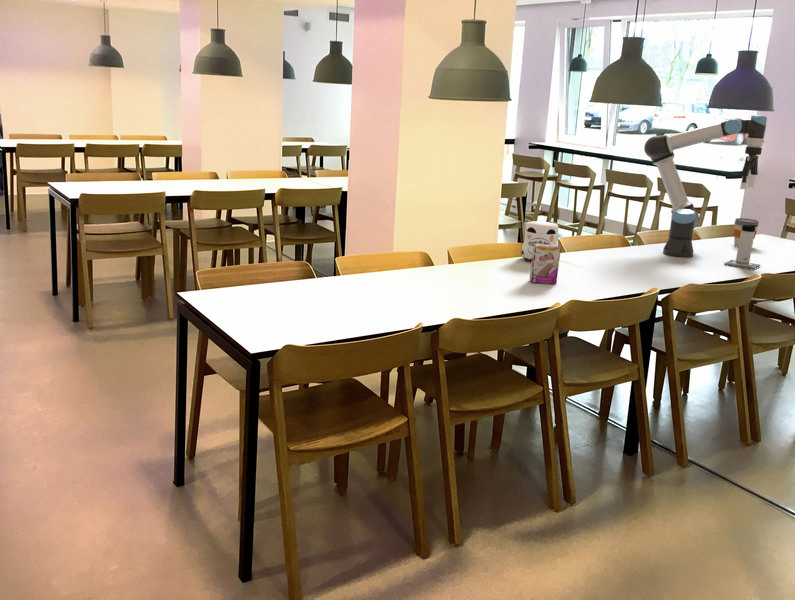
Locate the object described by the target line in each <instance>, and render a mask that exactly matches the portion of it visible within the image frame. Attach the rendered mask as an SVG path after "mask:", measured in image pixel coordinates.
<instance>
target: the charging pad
mask: <svg viewBox="0 0 795 600" xmlns="http://www.w3.org/2000/svg"><path fill="white" fill-rule="evenodd" d="M723 265H724V266H727V265H728V266H729V267H733V266H734V268H738V267H740V268H739V269H744V268H747V269H746V270H750V269H755V268H757V267H758V268H760V267H761V264H757V263H752V262H749V264H748V265H742V264H738V263H736V259H735V260H734V259H731V260H728V261H725V262H724V264H723ZM759 266H760V267H759ZM758 268H757V269H758ZM755 270H756V269H755Z"/></svg>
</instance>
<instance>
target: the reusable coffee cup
mask: <svg viewBox="0 0 795 600" xmlns="http://www.w3.org/2000/svg"><path fill="white" fill-rule="evenodd" d="M743 225H757V227H755V234H754V239H755V238H756V234H757V233H758V232H757V230H758V227H759V220H757V219H753V218H751V219H750V218H741V217H739V218H738V217H737V218H735V221H734V227H733V239H734V242H733V245H734V246H735V245H736V246H735V247H738V246H739V240H740V235H741V230H742V226H743Z"/></svg>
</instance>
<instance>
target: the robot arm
mask: <svg viewBox="0 0 795 600" xmlns="http://www.w3.org/2000/svg"><path fill="white" fill-rule="evenodd" d="M767 122H768V117H767V116H765V115H755V114H753V115H751V117H750V118H737V117H726V118H725V119H724V120H723V121H720V122H716V123H713V124H709V125H705V126H701V127H698V128H694V129H690V130H687V131H683V132H679V133H675V134H672V135H669V134H665V135H660V134H659V135H656V136H651V137H649V138H647V140H646V142H645V144H644V146H643V147H644V153H645V155H646V156H647V157H648V158H650V159H651V161H652V165H655V166H656V167H657V170H658V172H659V174H660V178H661V180H662V183H663V185H664V188H665V191H666V194H667V196H668V199H669V201H670V204H671V207H672V208H671V211H670V212H671V220H670V227H669V233H668V239H667V241H666V243H665V245H664V247H663V251H662V253H663V254H665V255H667V254H668V255H669V256H672V255H673V256H672V257H679V258H690V257H691V258H692V257H693V256H694V248H693V247H694V246H693V236H694V235H693V234H694V230H695V229H696V228H697V226H699V222H700V215H699V213H698V211H697V210H696V209H695V206H694V204H693V202H691V201H689V199H688V196H687V193H686V191H685V187H684V186H683V183H682V180H681V178H680V175H679V173H678V170H677V167H676V165H675V162H674V158H675V153H674V151H675V150H680V149H683V148H686V147H690V146H693V145H698V144H701V143H705V142H709V141H712V140H717V139H721V138H723V137H724V138H725V137H728V136H732V135H736V134H743V135H744V134H745V135H747V139H746V147H745V150H744V151H745V152H744V154H746V156H745V162H744V164H743V168H742V170H741V173H740V176H741V182H740V186H739V187H740V188H739V189H740V190H747V187H748V188H753V189H754V186H755V181H756V176H758V174H759V172H758V170H759V169H758V167H759V166H758V165H759V156H760V155H762V151H763V148H762V147H763V144H764V143H765V140H764V138H765V134H766V128H767ZM747 155H748V156H747ZM749 173H750V174H749Z"/></svg>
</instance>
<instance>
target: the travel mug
mask: <svg viewBox="0 0 795 600" xmlns="http://www.w3.org/2000/svg"><path fill="white" fill-rule="evenodd" d="M755 227H757V225H743V226H742V230H741V235H740V240H739V246H737V252H736V258H735V260H736V263H738V264H742V265H748V264H749V263H750V260H751V255H752V249H753V244H754V240H755V238H754V234H755ZM757 228H758V227H757Z"/></svg>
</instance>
